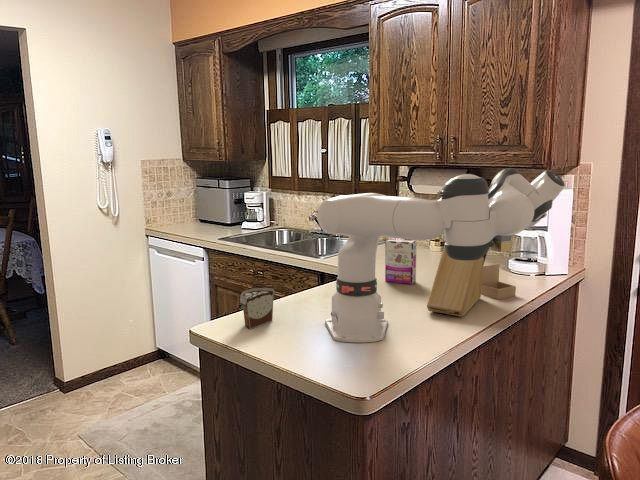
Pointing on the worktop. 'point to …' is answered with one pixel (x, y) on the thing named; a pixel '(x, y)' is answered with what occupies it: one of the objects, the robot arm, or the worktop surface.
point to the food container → (257, 306)
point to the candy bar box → (400, 261)
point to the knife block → (456, 285)
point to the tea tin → (502, 243)
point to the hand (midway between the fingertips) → (499, 234)
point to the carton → (495, 283)
